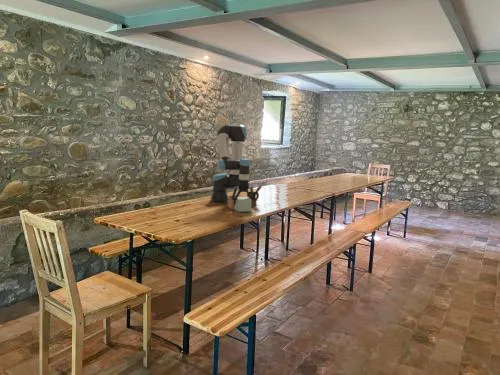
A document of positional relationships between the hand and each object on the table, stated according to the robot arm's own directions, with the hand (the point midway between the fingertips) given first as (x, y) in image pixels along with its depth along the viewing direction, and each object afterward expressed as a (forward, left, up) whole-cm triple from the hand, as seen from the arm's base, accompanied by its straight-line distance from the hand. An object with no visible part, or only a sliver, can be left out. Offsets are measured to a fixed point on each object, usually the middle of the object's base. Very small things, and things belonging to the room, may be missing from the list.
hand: (242, 208), depth 283 cm
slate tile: (0, 0, -2) cm, 2 cm away
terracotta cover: (-13, -2, -2) cm, 13 cm away
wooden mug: (-19, +14, -3) cm, 24 cm away
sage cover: (0, 0, -1) cm, 1 cm away
